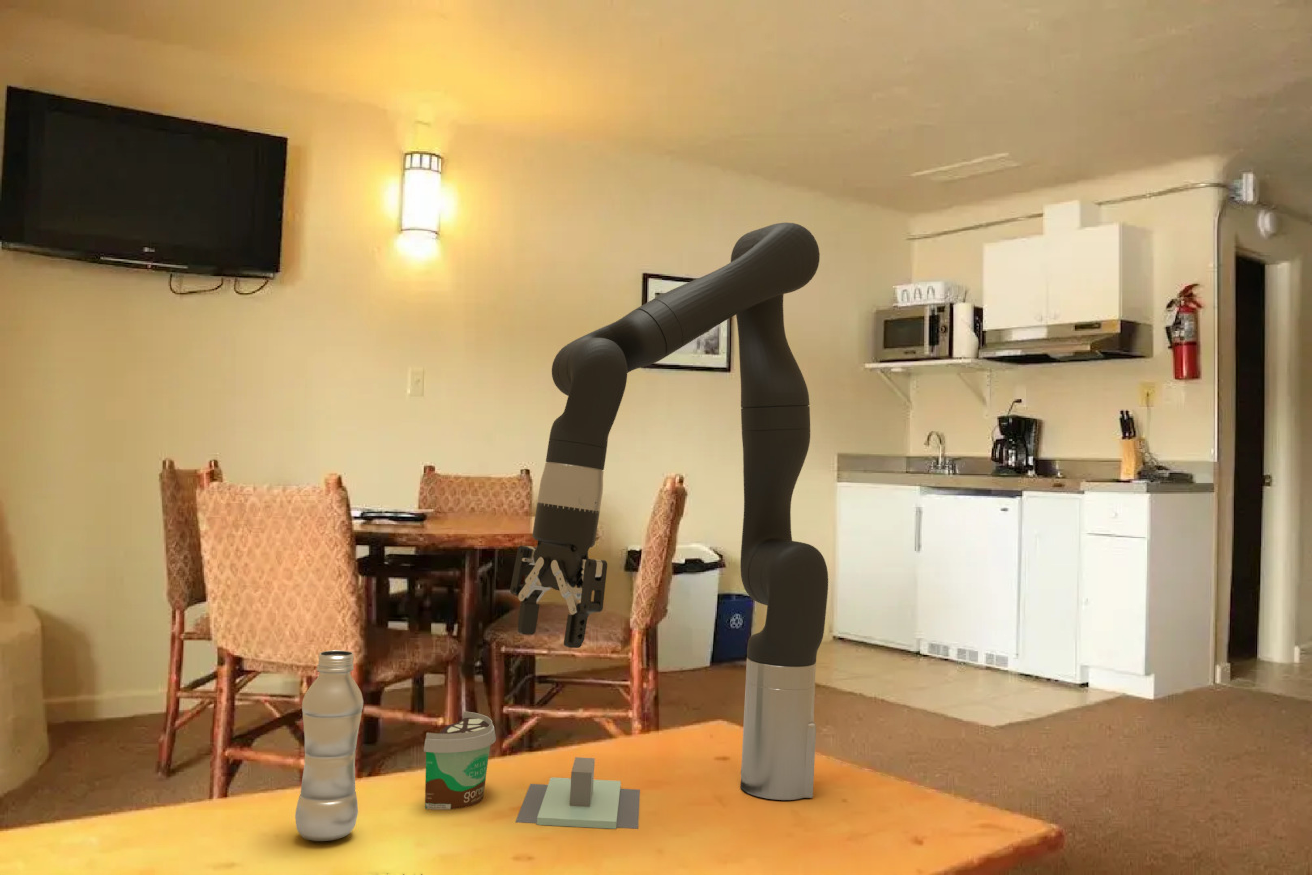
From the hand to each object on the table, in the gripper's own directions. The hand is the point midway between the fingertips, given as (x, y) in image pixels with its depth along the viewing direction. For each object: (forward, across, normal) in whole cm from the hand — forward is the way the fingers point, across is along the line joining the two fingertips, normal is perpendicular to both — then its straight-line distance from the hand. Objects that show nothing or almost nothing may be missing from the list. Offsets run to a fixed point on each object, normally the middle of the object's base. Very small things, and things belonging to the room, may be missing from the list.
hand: (548, 640), depth 121 cm
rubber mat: (+20, -2, -8) cm, 22 cm away
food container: (+22, +8, +2) cm, 24 cm away
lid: (+19, -2, -8) cm, 21 cm away
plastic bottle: (+24, +9, +20) cm, 32 cm away
